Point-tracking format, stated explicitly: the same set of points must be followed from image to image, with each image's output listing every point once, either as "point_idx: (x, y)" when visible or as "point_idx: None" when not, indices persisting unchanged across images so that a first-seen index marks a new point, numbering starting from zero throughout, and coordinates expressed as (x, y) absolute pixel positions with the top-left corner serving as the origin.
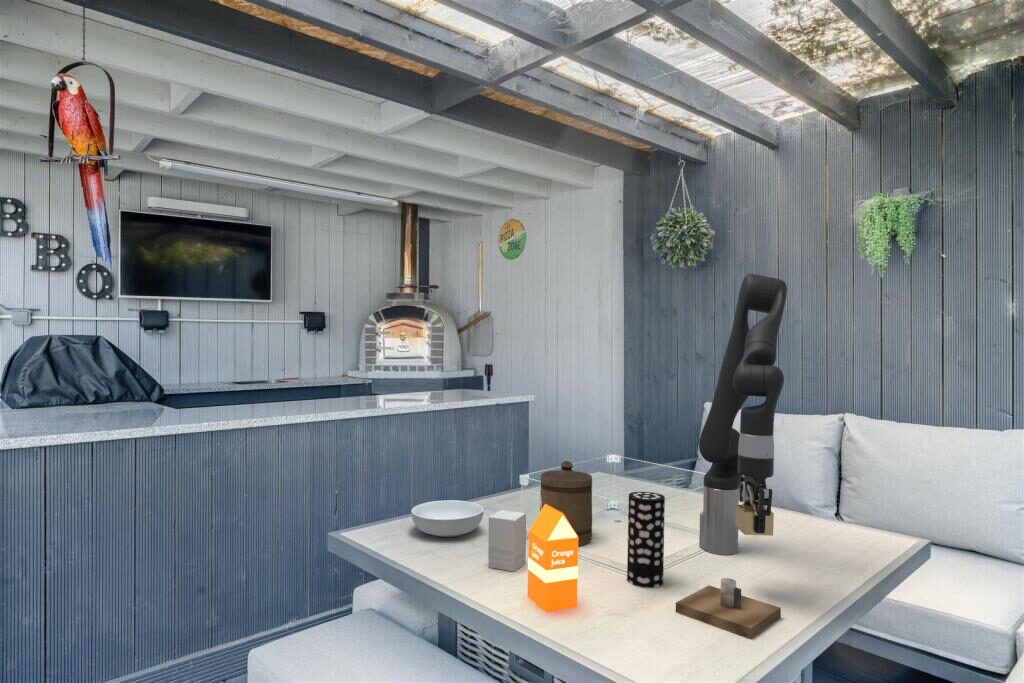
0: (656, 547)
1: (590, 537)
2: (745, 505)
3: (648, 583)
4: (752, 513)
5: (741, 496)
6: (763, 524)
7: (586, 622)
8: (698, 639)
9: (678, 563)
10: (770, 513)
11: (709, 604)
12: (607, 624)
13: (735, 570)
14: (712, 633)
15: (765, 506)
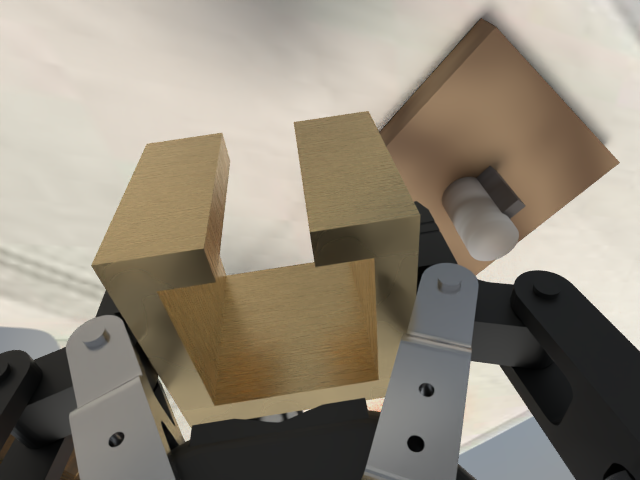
0: (295, 411)
1: (11, 444)
2: (188, 385)
3: None
4: None
5: (64, 461)
6: (440, 240)
7: (474, 389)
8: (572, 251)
9: (55, 268)
10: (574, 288)
11: (457, 238)
12: (484, 369)
13: (8, 89)
14: (551, 225)
15: (469, 344)
